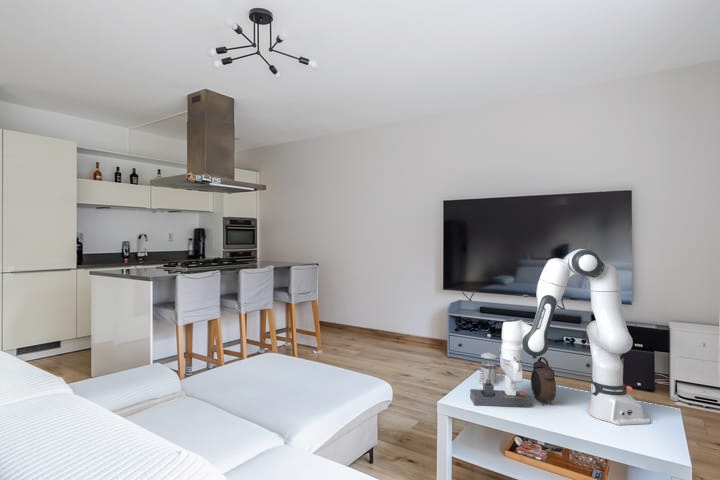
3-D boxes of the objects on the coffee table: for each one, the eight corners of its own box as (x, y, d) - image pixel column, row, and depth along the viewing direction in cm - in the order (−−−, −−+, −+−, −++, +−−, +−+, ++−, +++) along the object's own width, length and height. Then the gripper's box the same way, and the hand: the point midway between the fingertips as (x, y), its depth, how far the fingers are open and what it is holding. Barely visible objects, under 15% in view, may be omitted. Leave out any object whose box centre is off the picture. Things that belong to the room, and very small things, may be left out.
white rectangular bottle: (513, 393, 185) (514, 371, 185) (515, 395, 182) (516, 373, 182) (504, 392, 185) (505, 370, 185) (506, 395, 182) (507, 372, 182)
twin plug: (491, 401, 186) (492, 379, 186) (493, 403, 183) (493, 381, 183) (482, 400, 186) (483, 378, 186) (484, 403, 183) (484, 381, 183)
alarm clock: (528, 395, 193) (528, 353, 193) (543, 396, 193) (544, 353, 193) (540, 408, 179) (541, 362, 179) (557, 408, 178) (558, 363, 178)
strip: (523, 400, 188) (523, 390, 188) (530, 407, 179) (530, 397, 179) (470, 397, 189) (470, 387, 189) (474, 405, 180) (474, 395, 180)
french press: (496, 380, 214) (497, 332, 214) (500, 388, 203) (501, 337, 203) (476, 379, 216) (477, 331, 216) (480, 386, 204) (481, 336, 204)
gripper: (526, 361, 173) (525, 394, 173) (511, 349, 194) (510, 378, 194) (511, 361, 173) (510, 393, 173) (497, 348, 194) (497, 377, 194)
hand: (510, 385), depth 184 cm, fingers closed on white rectangular bottle, 3 cm apart
